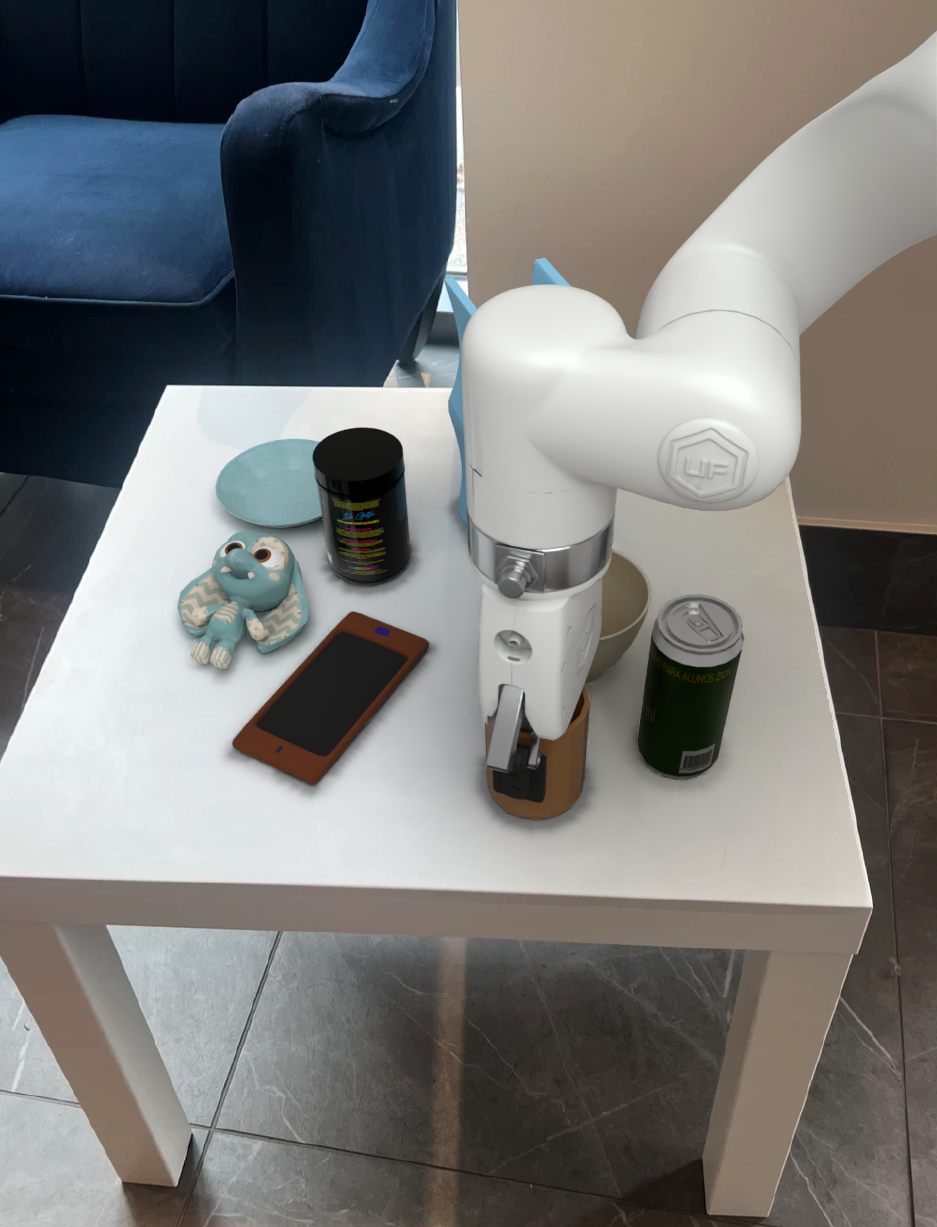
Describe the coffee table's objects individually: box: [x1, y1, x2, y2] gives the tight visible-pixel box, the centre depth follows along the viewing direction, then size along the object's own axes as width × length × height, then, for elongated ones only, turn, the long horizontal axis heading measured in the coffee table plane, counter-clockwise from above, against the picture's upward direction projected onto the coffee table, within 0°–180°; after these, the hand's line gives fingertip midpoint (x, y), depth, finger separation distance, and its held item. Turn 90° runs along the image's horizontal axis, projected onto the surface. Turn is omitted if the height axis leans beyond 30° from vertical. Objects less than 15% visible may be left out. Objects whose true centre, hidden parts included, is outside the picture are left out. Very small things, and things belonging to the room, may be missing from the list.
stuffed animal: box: [176, 530, 310, 670], centre depth 82 cm, size 11×7×12 cm
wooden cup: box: [484, 684, 591, 820], centre depth 70 cm, size 6×6×8 cm
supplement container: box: [312, 426, 412, 586], centre depth 85 cm, size 7×7×10 cm
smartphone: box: [231, 610, 430, 785], centre depth 78 cm, size 7×1×15 cm
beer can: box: [636, 593, 745, 781], centre depth 69 cm, size 5×5×12 cm
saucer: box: [215, 438, 322, 529], centre depth 94 cm, size 12×12×2 cm
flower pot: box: [584, 547, 652, 685], centre depth 77 cm, size 10×10×7 cm
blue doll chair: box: [443, 257, 572, 529], centre depth 84 cm, size 8×8×20 cm
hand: (535, 750), depth 70 cm, fingers closed on wooden cup, 6 cm apart
